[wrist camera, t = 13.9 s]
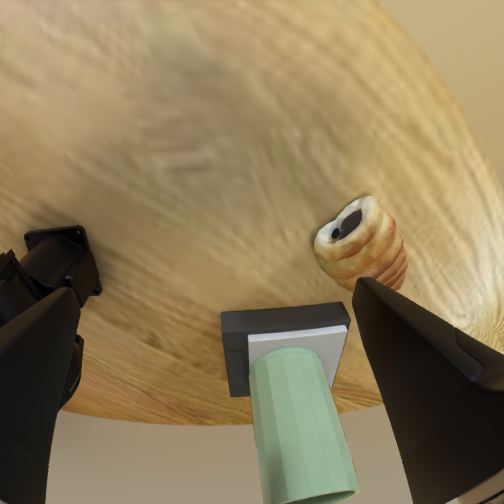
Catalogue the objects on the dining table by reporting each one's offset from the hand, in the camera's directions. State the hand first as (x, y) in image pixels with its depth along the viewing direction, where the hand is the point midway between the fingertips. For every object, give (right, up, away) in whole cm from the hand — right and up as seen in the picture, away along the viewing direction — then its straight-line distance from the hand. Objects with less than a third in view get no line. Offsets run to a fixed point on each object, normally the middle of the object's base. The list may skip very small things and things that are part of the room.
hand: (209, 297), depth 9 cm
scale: (+4, -8, +20) cm, 22 cm away
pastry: (+10, +2, +15) cm, 18 cm away
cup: (+4, -10, +17) cm, 20 cm away
